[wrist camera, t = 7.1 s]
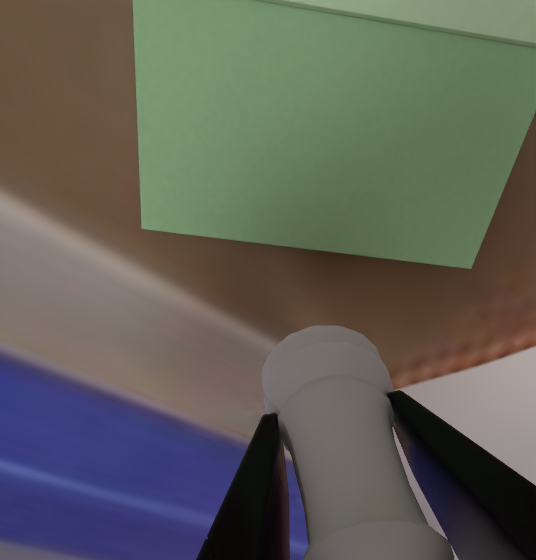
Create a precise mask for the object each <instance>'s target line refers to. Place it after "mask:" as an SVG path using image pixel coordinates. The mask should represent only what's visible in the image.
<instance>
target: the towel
mask: <svg viewBox="0 0 536 560" xmlns="http://www.w3.org/2000/svg"><path fill="white" fill-rule="evenodd" d="M133 22H134V48H135V73H136V98H137V124H138V149H139V175H140V200H141V226H142V229H146V230H154V231H162V232H170V233H178V234H187V235H195V236H203V237H211V238H220V239H228V240H236V241H244V242H252V243H261V244H269V245H277V246H285V247H294V248H302V249H310V250H318V251H326V252H335V253H343V254H351V255H359V256H368V257H376V258H384V259H392V260H401V261H409V262H417V263H425V264H433V265H442V266H450V267H458V268H466V269H471V268H472V266H473V263H474V261H475V258H476V256H477V253H478V251H479V248H480V246H481V244H482V241H483V239H484V236H485V234H486V231H487V229H488V226H489V224H490V222H491V219H492V217H493V214H494V212H495V209H496V207H497V204H498V202H499V200H500V197H501V195H502V192H503V190H504V187H505V185H506V183H507V180H508V178H509V175H510V173H511V170H512V168H513V165H514V163H515V161H516V158H517V156H518V153H519V151H520V148H521V146H522V143H523V141H524V139H525V136H526V134H527V131H528V129H529V126H530V124H531V121H532V119H533V117H534V114H535V112H536V0H133Z"/></svg>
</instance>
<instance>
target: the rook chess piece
mask: <svg viewBox="0 0 536 560" xmlns="http://www.w3.org/2000/svg"><path fill="white" fill-rule="evenodd" d="M262 389H263V391H264V408H265V411H266V414H269V413H276V415H277V420H278V432H279V436H280V438H281V440H282V442H283V444H284V446H285V447H286V449H287V450H288V451H290V454H291V457H292V460H293V464H294V468H295V473H296V477H297V481H298V486H299V490H300V494H301V498H302V503H303V507H304V511H305V519H306V527H307V536H308V544H309V547H308V549H307V551H306V553H305V556H304V558H303V560H454V555H453V552H452V548H451V545H450V542H449V541H448V540H447V539H446V538H444V537H443V536H442V535H440V534H439V533H438V532H436V531H435V530H434V529H433V528H431V527H430V526H429V525H428V523H427V521H426V519H425V516H424V514H423V512H422V510H421V508H420V506H419V504H418V502H417V500H416V497H415V495H414V493H413V491H412V489H411V487H410V485H409V482H408V479H407V476H406V473H405V470H404V467H403V464H402V462H401V459H400V456H399V453H398V450H397V447H396V444H395V440H394V435H393V430H392V427H393V422H394V412H393V409H392V406H391V403H390V400H389V398H387V393H388V392H392V391H394V389H393V385H392V382H391V379H390V376H389V373H388V370H387V367H386V365H385V364H384V363H383V362H382V361H381V358H380V355H379V352H378V349H377V348H376V347H375V346H374V345H373V344H372V343H371V342H370V341H369V340H368V339H367V338H366V337H365V336H364V335H363V334H361V333H359V332H356V331H353V330H350V329H348V328H345V327H342V326H339V325H330V326H311V327H308V328H306V329H303V330H300V331H298V332H295V333H292V334H289V335H288V336H287V337H286V338H285V339H283V340H282V341H281V342H280V343H279V344H278V345H276V346H275V347H274V348H273V349H272V350H271V351H270V353H269V355H268V358H267V360H266V362H265V364H264V366H263V368H262Z"/></svg>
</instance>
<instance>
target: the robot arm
mask: <svg viewBox="0 0 536 560" xmlns="http://www.w3.org/2000/svg"><path fill="white" fill-rule="evenodd" d="M387 398H389V400H390V403H391V406H392V409H393V412H394V422H393V427H394V430H395V432H396V435H397V437H398V439H399V442H400V444H401V447H402V449H403V451H404V454H405V456H406V458H407V461H408V463H409V466H410V468H411V470H412V472H413V475H414V477H415V479H416V480H417V482H418V484H419V486H420V488H421V490H422V492H423V494H424V496H425V498H426V499H427V501H428V503H429V505H430V507H431V508H432V511H433V512H434V514H435V516H436V518H437V520H438V522H439V524H440V526H441V527H442V529H443V531H444V533H445V535H446V537H447V539H448V541H449V542H450V544H451V546H452V548H453V550H454V552H455V554H456V555H457V557H458V559H459V560H536V486H535V485H534V484H532V483H531V482H530V481H528V480H527V479H525V478H524V477H523V476H521V475H520V474H518V473H517V472H516V471H514V470H513V469H511V468H510V467H508V466H507V465H505V464H504V463H503V462H501V461H500V460H498V459H497V458H496V457H494V456H493V455H492V454H490V453H489V452H487V451H486V450H484V449H483V448H482V447H480V446H479V445H477V444H476V443H474V442H473V441H472V440H470V439H469V438H468V437H466V436H465V435H463V434H462V433H460V432H459V431H458V430H456V429H455V428H453V427H452V426H451V425H449V424H448V423H446V422H445V421H443V420H442V419H441V418H439V417H438V416H436V415H435V414H434V413H432V412H431V411H429V410H428V409H426V408H425V407H423V406H422V405H421V404H419V403H418V402H417V401H415V400H414V399H412V398H411V397H410V396H408V395H407V394H405V393H404V392H402V391H400V390H398V391H392V392H388V393H387ZM207 537H208V539H206V540H205V541H204V544H203V546H202V548H201V550H200V552H199V555H198V557H197V559H196V560H290V547H289V493H288V482H287V473H286V465H285V456H284V447H283V442H282V440H281V438H280V436H279V432H278V420H277V415H276V413H269V414H264V415H263V416H262V418H261V420H260V422H259V424H258V427H257V429H256V431H255V433H254V435H253V438H252V440H251V442H250V444H249V446H248V448H247V451H246V453H245V455H244V457H243V459H242V461H241V464H240V466H239V468H238V470H237V472H236V474H235V477H234V479H233V481H232V483H231V485H230V487H229V490H228V492H227V494H226V496H225V498H224V501H223V503H222V505H221V507H220V509H219V511H218V514H217V516H216V518H215V520H214V522H213V524H212V527H211V529H210V531H209V533H208V536H207Z"/></svg>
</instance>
